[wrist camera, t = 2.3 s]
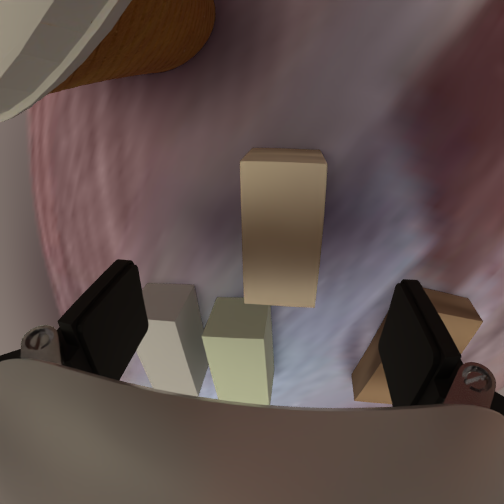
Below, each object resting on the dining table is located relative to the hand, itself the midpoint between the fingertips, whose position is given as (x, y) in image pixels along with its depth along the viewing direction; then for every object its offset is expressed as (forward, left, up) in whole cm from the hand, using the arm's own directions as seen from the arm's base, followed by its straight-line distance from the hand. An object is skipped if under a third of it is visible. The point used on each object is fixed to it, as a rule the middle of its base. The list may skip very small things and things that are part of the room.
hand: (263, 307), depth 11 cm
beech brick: (-1, 0, -8) cm, 8 cm away
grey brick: (+8, -7, -8) cm, 13 cm away
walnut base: (+8, +10, -8) cm, 15 cm away
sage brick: (+9, -2, -8) cm, 12 cm away
